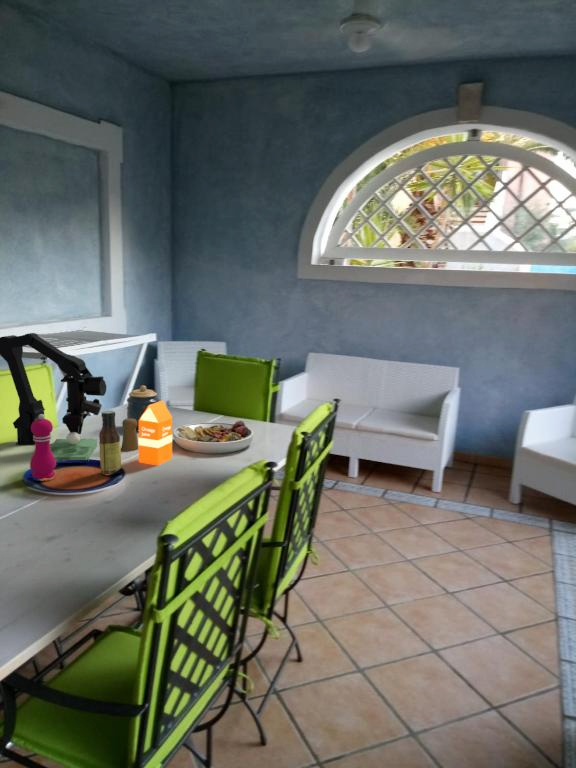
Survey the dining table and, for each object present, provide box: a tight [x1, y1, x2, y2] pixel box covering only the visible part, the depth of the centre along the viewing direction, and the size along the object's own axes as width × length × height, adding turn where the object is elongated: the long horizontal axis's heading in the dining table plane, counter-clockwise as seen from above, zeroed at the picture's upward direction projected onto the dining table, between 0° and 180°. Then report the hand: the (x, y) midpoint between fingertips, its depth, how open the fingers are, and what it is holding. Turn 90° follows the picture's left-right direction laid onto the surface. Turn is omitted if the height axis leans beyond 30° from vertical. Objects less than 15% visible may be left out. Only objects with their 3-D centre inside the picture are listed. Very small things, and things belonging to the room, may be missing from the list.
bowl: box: [172, 420, 254, 454], centre depth 216 cm, size 30×30×8 cm
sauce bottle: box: [98, 410, 122, 475], centre depth 178 cm, size 6×6×20 cm
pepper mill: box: [29, 414, 57, 479], centre depth 171 cm, size 7×7×20 cm
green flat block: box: [50, 438, 98, 461], centre depth 196 cm, size 21×14×2 cm, turn 9°
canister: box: [126, 385, 160, 430], centre depth 234 cm, size 13×13×18 cm
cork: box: [120, 418, 139, 452], centre depth 206 cm, size 6×6×11 cm
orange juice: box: [138, 400, 173, 466], centre depth 193 cm, size 8×9×20 cm
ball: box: [65, 431, 81, 445], centre depth 200 cm, size 4×4×4 cm
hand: (77, 436), depth 206 cm, fingers open, 6 cm apart
